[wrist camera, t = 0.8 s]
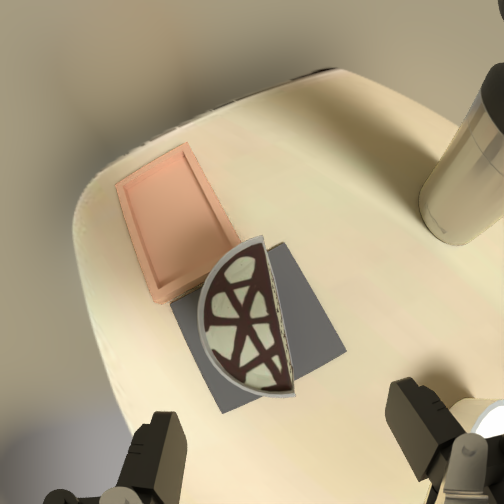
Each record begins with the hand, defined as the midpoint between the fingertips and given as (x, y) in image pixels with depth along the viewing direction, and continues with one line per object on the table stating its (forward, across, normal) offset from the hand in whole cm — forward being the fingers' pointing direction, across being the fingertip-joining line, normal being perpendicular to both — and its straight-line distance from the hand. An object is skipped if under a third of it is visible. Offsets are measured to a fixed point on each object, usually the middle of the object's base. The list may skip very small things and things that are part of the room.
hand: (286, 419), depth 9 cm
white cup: (+9, -21, +18) cm, 29 cm away
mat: (+19, +1, +6) cm, 20 cm away
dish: (+27, +9, -5) cm, 29 cm away
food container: (+19, +1, +6) cm, 20 cm away
